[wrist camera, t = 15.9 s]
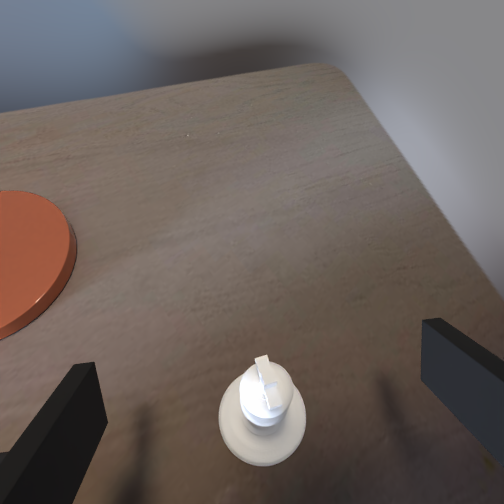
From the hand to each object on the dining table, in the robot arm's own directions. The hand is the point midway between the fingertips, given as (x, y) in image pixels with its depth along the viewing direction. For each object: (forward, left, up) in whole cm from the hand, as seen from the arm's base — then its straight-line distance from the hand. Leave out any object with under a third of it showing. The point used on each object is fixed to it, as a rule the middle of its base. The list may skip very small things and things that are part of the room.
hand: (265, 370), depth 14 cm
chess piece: (-1, 0, -8) cm, 8 cm away
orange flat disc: (+18, +10, -7) cm, 22 cm away
